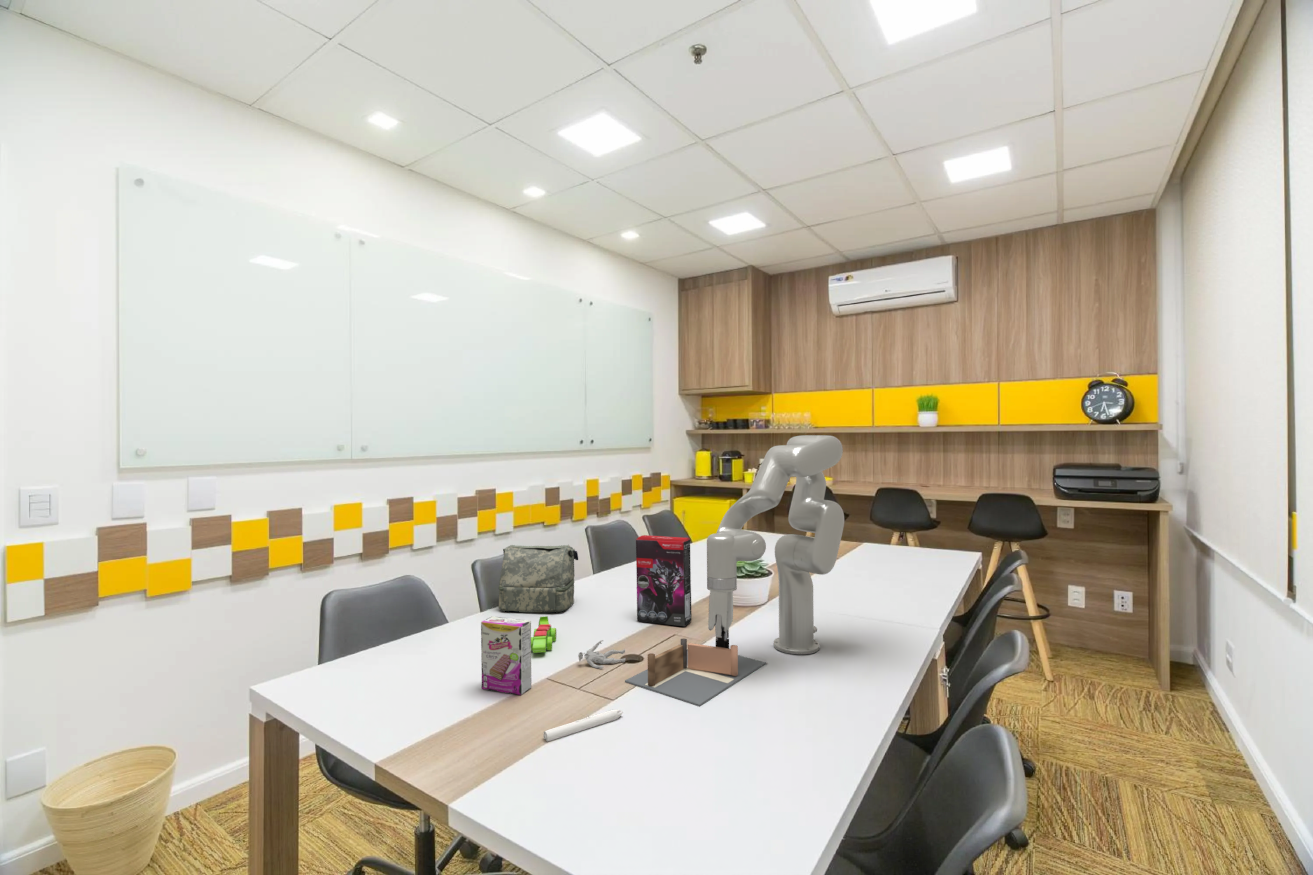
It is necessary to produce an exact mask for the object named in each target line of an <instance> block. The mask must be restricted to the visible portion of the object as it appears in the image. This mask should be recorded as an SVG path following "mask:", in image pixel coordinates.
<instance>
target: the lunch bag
mask: <svg viewBox="0 0 1313 875" xmlns="http://www.w3.org/2000/svg"><path fill="white" fill-rule="evenodd" d="M502 550H503V559H502V564H501V571H500V578H499V581H498V610H500V611H502V612H505V611H519V612H518V613H545V612H556V613H561V612H563V611H566V610H568V609H569V608H570V607H571V606H573V604H574V602H575V598H574V597H575V561H579V555H578V551H577V550H576V549H575V548H573V547H572V546H571V545H569V544H566V545H565V544H564V545H515V544H514V545H513V544H510V545H508V546H506V547H505V548H502Z"/></svg>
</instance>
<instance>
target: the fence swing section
mask: <svg viewBox="0 0 1313 875" xmlns="http://www.w3.org/2000/svg"><path fill="white" fill-rule="evenodd" d="M687 649H688V668H691V669H697V670H704V671H710V672H716V673H722V674H729V675H732V676H737V675H738V655H739V652H738V650H739V647H738V644H737V645H736V644H731V645H729V649H728V648H721V647H716V646H712V645H708V644H707V645H706V644H699V643H691V642H689V643H687Z"/></svg>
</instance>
